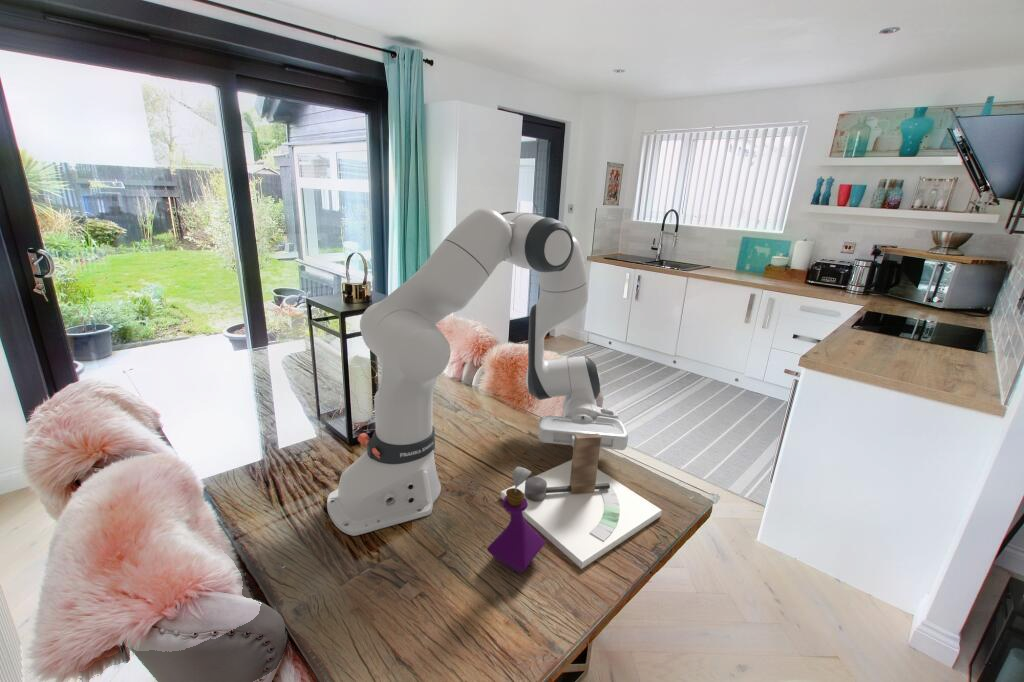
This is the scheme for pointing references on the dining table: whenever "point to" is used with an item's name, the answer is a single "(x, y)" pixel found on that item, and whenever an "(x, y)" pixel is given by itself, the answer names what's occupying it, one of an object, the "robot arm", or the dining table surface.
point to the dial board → (587, 515)
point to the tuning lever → (573, 470)
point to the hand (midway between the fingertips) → (584, 451)
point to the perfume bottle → (516, 530)
